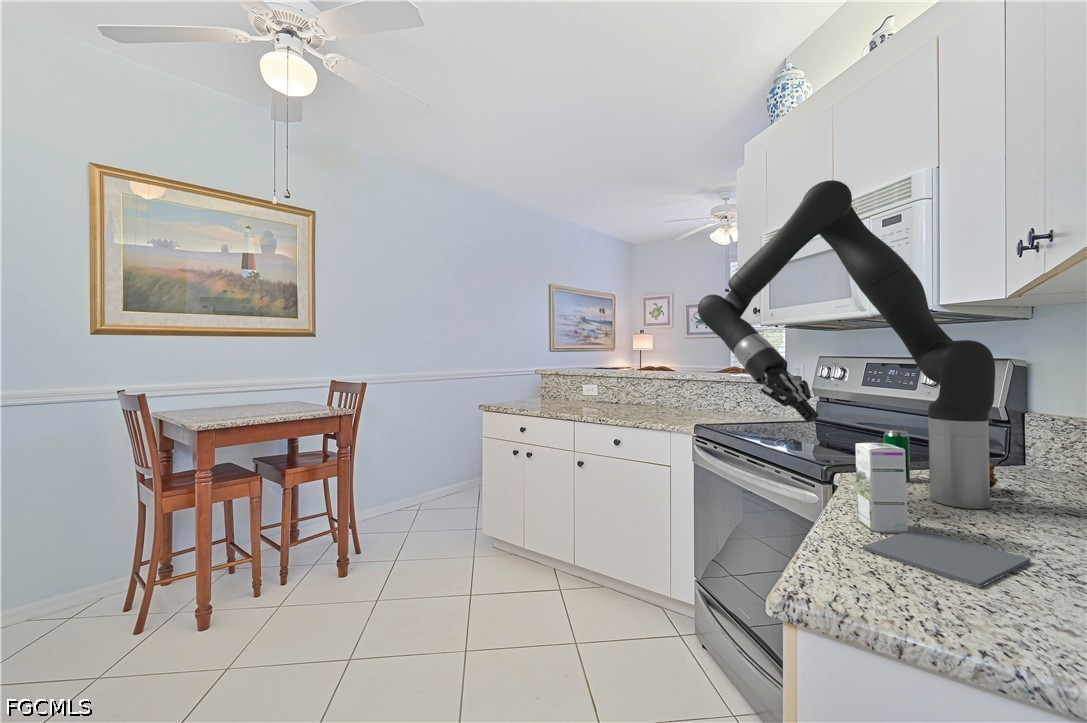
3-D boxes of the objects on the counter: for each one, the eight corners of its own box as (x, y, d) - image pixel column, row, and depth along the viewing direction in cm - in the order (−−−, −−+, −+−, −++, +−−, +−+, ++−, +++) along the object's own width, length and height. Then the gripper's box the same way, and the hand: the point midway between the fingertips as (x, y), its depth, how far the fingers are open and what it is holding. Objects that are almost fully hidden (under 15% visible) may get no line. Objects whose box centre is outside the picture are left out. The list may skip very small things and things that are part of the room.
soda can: (915, 482, 111) (914, 432, 111) (894, 482, 111) (893, 432, 111) (899, 477, 116) (898, 429, 116) (879, 477, 116) (878, 429, 116)
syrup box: (909, 534, 78) (908, 448, 79) (870, 531, 80) (869, 447, 80) (891, 522, 84) (890, 442, 84) (855, 520, 85) (854, 441, 85)
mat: (916, 531, 79) (916, 528, 79) (1030, 562, 67) (1030, 558, 67) (862, 549, 72) (862, 545, 72) (978, 588, 60) (978, 583, 60)
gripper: (748, 345, 98) (804, 408, 87) (789, 346, 104) (846, 405, 93) (728, 370, 103) (779, 433, 92) (768, 369, 109) (821, 428, 98)
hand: (813, 418), depth 92 cm, fingers closed
